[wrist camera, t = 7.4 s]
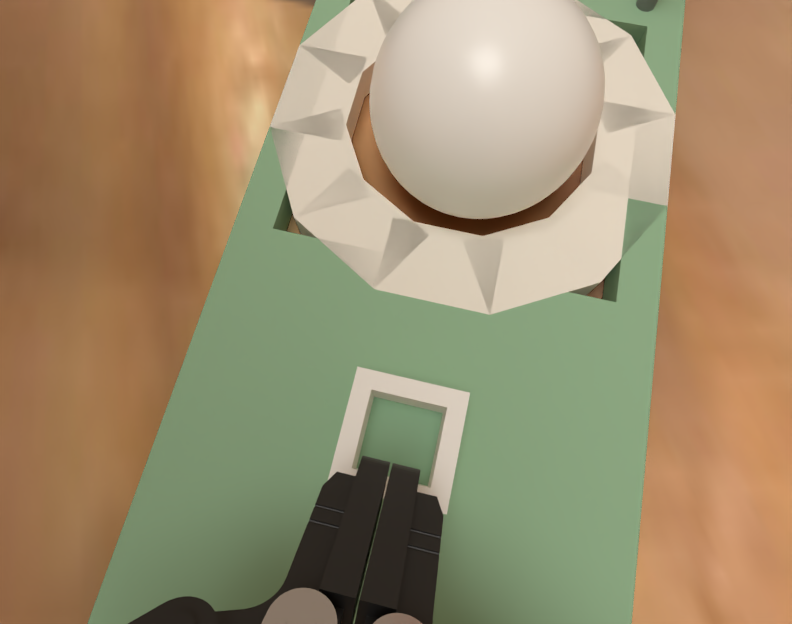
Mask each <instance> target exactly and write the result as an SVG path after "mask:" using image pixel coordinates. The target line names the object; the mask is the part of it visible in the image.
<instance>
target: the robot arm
mask: <svg viewBox="0 0 792 624" xmlns="http://www.w3.org/2000/svg"><path fill="white" fill-rule="evenodd" d="M389 467H390V462H388V461H383V460H379V459H375V458H371V457H367V456H362V458H361V461H360V464H359V467H358V470H357V473H356V476H353V475H349V474H345V473H341V472H336V473H335V474H334V475H333V476H332V477H331V478H330V479H329V480H328V481H327V482H326V483H325V484H323V486H322V488H321V491H320V493H319V496H318V498H317V501H316V503H315V507H314V508H313V511H312V514H311V516H310V519H309V522H308V524H307V526H306V529H305V531H304V534H303V536H302V539H301V541H300V544H299V546H298V549H297V552H296V554H295V557H294V559H293V562H292V564H291V567H290V569H289V572H288V574H287V577H286V579H285V581H284V583H283V585H282V586H281V588H280V589H279V590H278V591H277V593H276V594H275V595H274V596H272V597H271V598H270V599H269V600H267V601H265V602H264V603H262V604H260V605H257V606H255V607H251V608H247V609H239V610H226V611H215V610H214V609H213V608H212V606H211V605H210V604H209V603H208V602H206V601H204V600H203V599H200V598H197V597H191V596H183V597H178V598H174V599H171V600H169V601H167V602H165V603H163V604H161V605H159V606H157V607H156V608H154V609H152V610H151V611H149V612H147V613H145V614H144V615H142V616H140V617H138V618H137V619H135V620H133V621H131V622H130V623H128V624H353V621H354V617H355V613H356V608H357V604H358V600H359V604H358V609H357V614H356V619H355V623H354V624H433V611H434V602H435V592H436V583H437V573H438V564H439V553H440V545H441V535H442V526H443V513H442V510H441V507H440V504H439V501H438V498H437V497H436V496H432V495H428V494H424V493H420V492H417V489H418V483H419V477H420V470H419V469H415V468H411V467H407V466H403V465H399V464H395V463H393V464H392V468H391V472H390V476H389V480H388V484H387V488H386V493H385V497H384V501H383V505H382V500H383V496H384V491H385V486H386V481H387V477H388V472H389ZM381 505H382V509H381ZM380 510H381V513H380ZM379 514H380V517H379ZM378 518H379V521H378ZM377 523H378V525H377ZM376 527H377V529H376ZM375 531H376V534H375ZM374 535H375V538H374ZM373 539H374V542H373ZM372 543H373V546H372ZM371 547H372V550H371ZM370 551H371V554H370ZM369 555H370V558H369ZM368 559H369V562H368ZM367 564H368V566H367ZM366 568H367V570H366ZM365 572H366V575H365ZM364 576H365V579H364ZM363 580H364V583H363ZM362 584H363V587H362ZM361 588H362V591H361ZM360 592H361V595H360ZM359 596H360V599H359Z"/></svg>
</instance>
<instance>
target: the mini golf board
mask: <svg viewBox="0 0 792 624" xmlns="http://www.w3.org/2000/svg"><path fill="white" fill-rule="evenodd" d="M412 1H413V0H316V2H315V5H314V8H313V10H312V13H311V16H310V18H309V21H308V24H307V27H306V29H305V32H304V35H303V37H302V40H301V43H300V46H299V48H298V51H297V54H296V57H295V59H294V62H293V65H292V67H291V70H290V73H289V76H288V78H287V81H286V84H285V87H284V89H283V92H282V95H281V97H280V100H279V103H278V106H277V108H276V111H275V114H274V117H273V119H272V122H271V125H270V127H269V130H268V133H267V136H266V138H265V141H264V144H263V147H262V149H261V152H260V155H259V157H258V160H257V163H256V166H255V168H254V171H253V174H252V177H251V179H250V182H249V185H248V187H247V190H246V193H245V196H244V198H243V201H242V204H241V207H240V209H239V212H238V215H237V217H236V220H235V223H234V226H233V228H232V231H231V234H230V236H229V239H228V242H227V245H226V247H225V250H224V253H223V256H222V258H221V261H220V264H219V266H218V269H217V272H216V275H215V277H214V280H213V283H212V286H211V288H210V291H209V294H208V296H207V299H206V302H205V305H204V307H203V310H202V313H201V316H200V318H199V321H198V324H197V326H196V329H195V332H194V335H193V337H192V340H191V343H190V346H189V348H188V351H187V354H186V356H185V359H184V362H183V365H182V367H181V370H180V373H179V376H178V378H177V381H176V384H175V386H174V389H173V392H172V395H171V397H170V400H169V403H168V405H167V408H166V411H165V414H164V416H163V419H162V422H161V425H160V427H159V430H158V433H157V435H156V438H155V441H154V444H153V446H152V449H151V452H150V455H149V457H148V460H147V463H146V465H145V468H144V471H143V474H142V476H141V479H140V482H139V485H138V487H137V490H136V493H135V495H134V498H133V501H132V504H131V506H130V509H129V512H128V515H127V517H126V520H125V523H124V525H123V528H122V531H121V534H120V536H119V539H118V542H117V545H116V547H115V550H114V553H113V555H112V558H111V561H110V564H109V566H108V569H107V572H106V575H105V577H104V580H103V583H102V585H101V588H100V591H99V594H98V596H97V599H96V602H95V604H94V607H93V610H92V613H91V615H90V618H89V621H88V624H128V623H130V622H131V621H133V620H135V619H137V618H138V617H140V616H142V615H144V614H145V613H147V612H149V611H151V610H152V609H154V608H156V607H157V606H159V605H161V604H163V603H165V602H167V601H169V600H171V599H174V598H178V597H183V596H191V597H197V598H200V599H203V600H204V601H206V602H208V603H209V604H210V605H211V606H212V608H213V609H214V610H215V611H226V610H239V609H247V608H251V607H255V606H257V605H260V604H262V603H264V602H265V601H267V600H269V599H270V598H271V597H272V596H274V595H275V594H276V593H277V591H278V590H279V589H280V588H281V586H282V585H283V583H284V581H285V579H286V577H287V574H288V572H289V569H290V567H291V564H292V562H293V559H294V557H295V554H296V552H297V549H298V546H299V544H300V541H301V539H302V536H303V534H304V531H305V529H306V526H307V524H308V522H309V519H310V516H311V514H312V511H313V508H314V507H315V503H316V501H317V498H318V496H319V493H320V491H321V488H322V486H323V484H325V483H326V482H327V481H328V480H329V479H330V478H331V477H332V476H333V475H334V474H335V473H336V472H341V473H345V474H349V475H353V476H356V473H357V470H358V467H359V464H360V461H361V458H362V456H367V457H371V458H375V459H379V460H383V461H388V462H390V467H389V472H388V477H387V481H386V486H385V491H384V496H383V500H382V505H383V501H384V497H385V493H386V488H387V484H388V480H389V476H390V472H391V468H392V464H393V463H395V464H399V465H403V466H407V467H411V468H415V469H419V470H420V477H419V483H418V489H417V492H420V493H424V494H428V495H432V496H436V497H437V498H438V501H439V504H440V507H441V510H442V513H443V526H442V535H441V545H440V553H439V564H438V573H437V583H436V592H435V602H434V611H433V624H632V612H633V600H634V589H635V577H636V566H637V554H638V542H639V531H640V519H641V508H642V496H643V484H644V473H645V461H646V450H647V438H648V426H649V415H650V403H651V392H652V380H653V369H654V357H655V345H656V334H657V322H658V311H659V299H660V287H661V276H662V264H663V253H664V241H665V229H666V218H667V206H668V195H669V183H670V171H671V160H672V148H673V137H674V125H675V113H676V102H677V90H678V79H679V67H680V55H681V44H682V32H683V21H684V9H685V0H573V1H574V2H575V3H576V4H577V5H578V6H579V8H580V9H581V10H582V12H583V13H584V14H585V16H586V18H587V19H588V21H589V23H590V25H591V27H592V29H593V31H594V33H595V35H596V38H597V40H598V43H599V45H600V50H601V54H602V59H603V64H604V71H605V95H604V106H603V110H602V115H601V119H600V123H599V126H598V130H597V132H596V135H595V137H594V140H593V142H592V144H591V146H590V148H589V150H588V151H587V153H586V155H585V157H584V160H583V166H582V173H581V180H580V186H579V187H578V188H577V189H576V190H575V191H574V192H573V193H572V194H571V195H570V196H569V197H568V198H567V199H566V200H565V201H564V202H563V204H562V205H561V206H560V207H559V208H558V209H557V210H556V211H555V212H554V213H553V214H552V215H551V216H550V217H549V218H546V219H542V220H539V221H535V222H531V223H528V224H524V225H521V226H517V227H514V228H510V229H506V230H503V231H499V232H496V233H492V234H489V235H485V236H480V235H475V234H471V233H466V232H461V231H456V230H452V229H447V228H442V227H437V226H432V225H428V224H423V223H418V222H414V221H412V220H411V219H410V218H409V217H408V216H406V215H405V214H404V213H403V212H402V211H401V210H399V209H398V208H397V207H396V206H395V205H393V204H392V203H391V202H390V201H389V200H387V199H386V198H385V197H384V196H383V195H381V194H380V193H379V192H378V191H377V190H375V189H374V188H373V187H372V186H371V185H369V184H368V183H367V182H366V181H365V180H364V179H363V176H362V173H361V170H360V167H359V164H358V161H357V157H356V154H355V151H354V148H353V145H352V142H351V140H352V137H353V134H354V130H355V127H356V124H357V121H358V117H359V114H360V111H361V108H362V104H363V101H364V98H365V97H366V96H367V95H368V94H369V93H370V85H371V80H372V74H373V68H374V64H375V61H376V58H377V55H378V53H379V50H380V48H381V45H382V43H383V41H384V39H385V37H386V35H387V33H388V31H389V30H390V28H391V27H392V25H393V24H394V23H395V21H396V20H397V18H398V17H399V15H400V14H401V13H402V12H403V11H404V9H405V8H406V7H407V6H408V5H409V4H410V3H411V2H412ZM292 212H293V216H294V219H295V221H296V224H297V226H298V228H299V231H300V233H301V234H296V233H291V232H287V228H288V225H289V222H290V218H291V215H292ZM604 278H605V282H604V290H603V298H602V299H598V298H594V297H589V296H586V295H587V294H589V293H590V292H591V291H592V290H593V289H594V288H595V287H596V286H597V285H598V284H599V283H600V282H601V281H602V280H603V279H604ZM382 505H381V509H382ZM380 513H381V510H380ZM379 517H380V514H379ZM378 521H379V518H378ZM377 525H378V523H377ZM376 529H377V527H376ZM375 534H376V531H375ZM374 538H375V535H374ZM373 542H374V539H373ZM372 546H373V543H372ZM371 550H372V547H371ZM370 554H371V551H370ZM369 558H370V555H369ZM368 562H369V559H368ZM367 566H368V564H367ZM366 570H367V568H366ZM365 575H366V572H365ZM364 579H365V576H364ZM363 583H364V580H363ZM362 587H363V584H362ZM361 591H362V588H361ZM360 595H361V592H360ZM359 599H360V596H359ZM358 604H359V600H358ZM358 604H357V608H356V613H355V617H354V621H353V624H354V623H355V619H356V614H357V609H358Z"/></svg>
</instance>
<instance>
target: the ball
mask: <svg viewBox="0 0 792 624" xmlns="http://www.w3.org/2000/svg"><path fill="white" fill-rule="evenodd" d="M604 95H605V71H604V64H603V59H602V54H601V50H600V45H599V43H598V40H597V38H596V35H595V33H594V31H593V29H592V27H591V25H590V23H589V21H588V19H587V18H586V16H585V14H584V13H583V12H582V10H581V9H580V8H579V6H578V5H577V4H576V3H575V2H574V1H573V0H413V1H412V2H411V3H410V4H409V5H408V6H407V7H406V8H405V9H404V11H403V12H402V13H401V14H400V15H399V17H398V18H397V20H396V21H395V23H394V24H393V25H392V27H391V28H390V30H389V31H388V33H387V35H386V37H385V39H384V41H383V43H382V45H381V48H380V50H379V53H378V55H377V58H376V61H375V64H374V68H373V74H372V80H371V85H370V101H369V104H370V118H371V125H372V129H373V133H374V137H375V140H376V144H377V147H378V149H379V151H380V154H381V156H382V158H383V160H384V162H385V163H386V165H387V167H388V168H389V170H390V172H391V173H392V175H393V176H394V177H395V178H396V180H397V181H398V182H399V183H400V185H402V186H403V187H404V188H405V189H406V190H407V191H408V192H409V193H410V194H411V195H413V196H414V197H415V198H417V199H418V200H419V201H421V202H422V203H424V204H425V205H427V206H429V207H431V208H433V209H435V210H437V211H440V212H442V213H445V214H448V215H452V216H456V217H461V218H469V219H489V218H497V217H502V216H506V215H510V214H514V213H517V212H519V211H522V210H524V209H527V208H529V207H531V206H533V205H535V204H537V203H538V202H540V201H542V200H543V199H545V198H546V197H547V196H549V195H550V194H551V193H553V192H554V191H555V190H557V189H558V188H559V187H560V186H561V185H562V184H563V183H564V182H565V181H566V180H567V179H568V178H569V177H570V176H571V175H572V173H573V172H574V171H575V170H576V168H577V167H578V166H579V164H580V163H581V162H582V160H583V158H584V157H585V155H586V153H587V151H588V150H589V148H590V146H591V144H592V142H593V140H594V137H595V135H596V132H597V130H598V126H599V123H600V119H601V115H602V110H603V106H604Z"/></svg>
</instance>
